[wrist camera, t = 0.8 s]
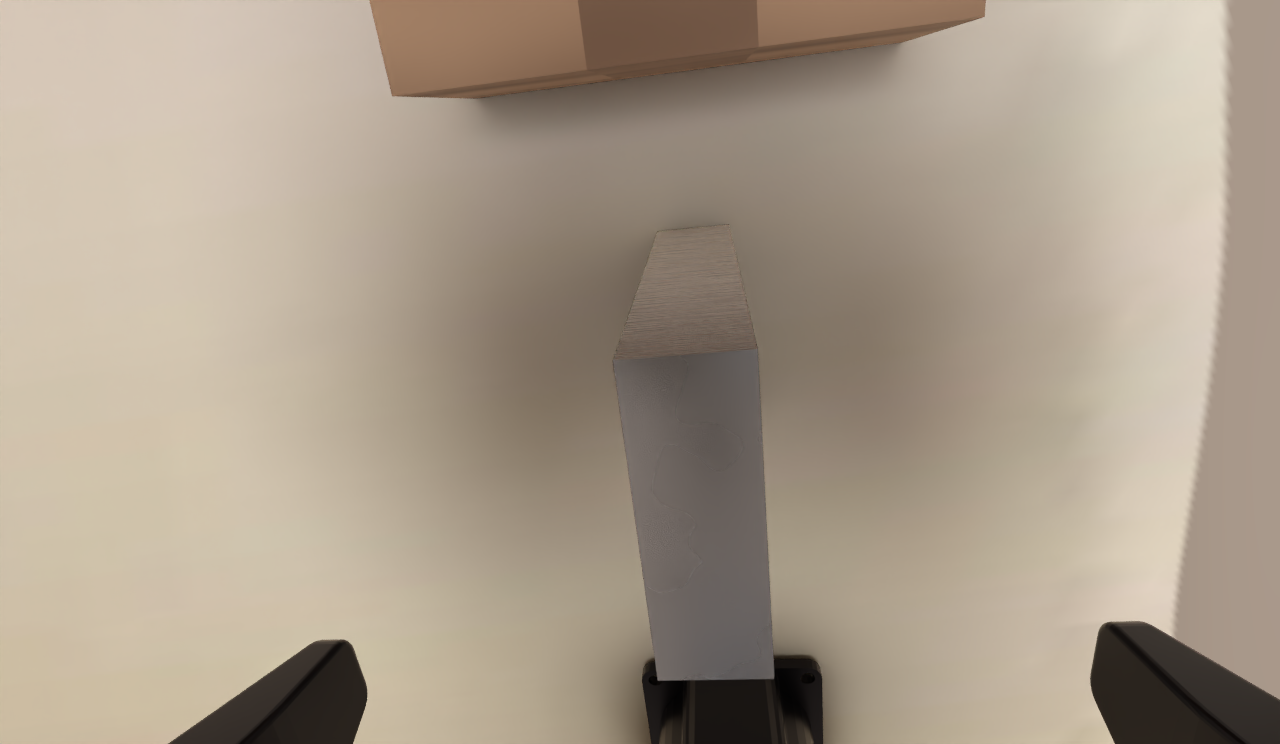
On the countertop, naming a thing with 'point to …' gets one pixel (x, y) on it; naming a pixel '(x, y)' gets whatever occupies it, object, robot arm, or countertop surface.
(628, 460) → the gray concrete slab
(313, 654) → the robot arm
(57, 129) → the countertop surface
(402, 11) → the post block
